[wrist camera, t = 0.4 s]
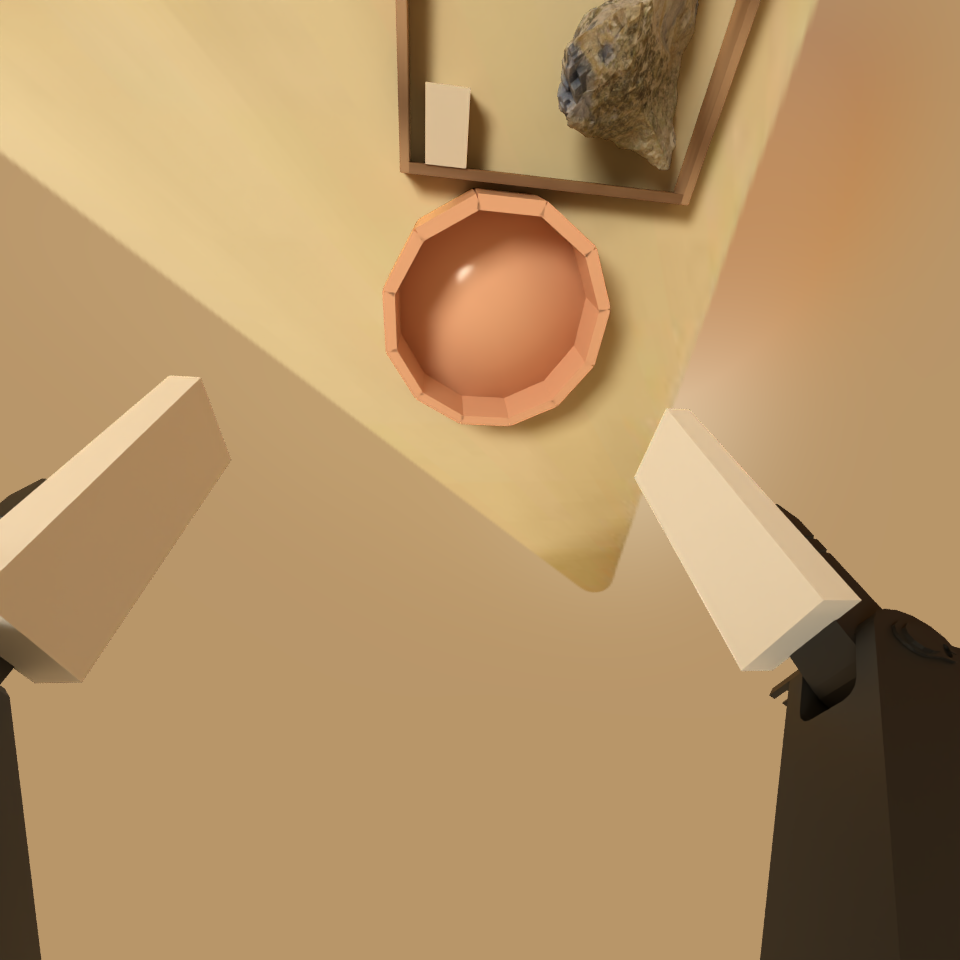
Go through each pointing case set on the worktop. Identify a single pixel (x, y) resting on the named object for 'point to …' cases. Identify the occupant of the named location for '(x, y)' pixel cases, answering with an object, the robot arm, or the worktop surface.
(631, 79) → the rock
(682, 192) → the tray
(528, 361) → the bowl
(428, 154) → the cream cuboid block
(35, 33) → the worktop surface
